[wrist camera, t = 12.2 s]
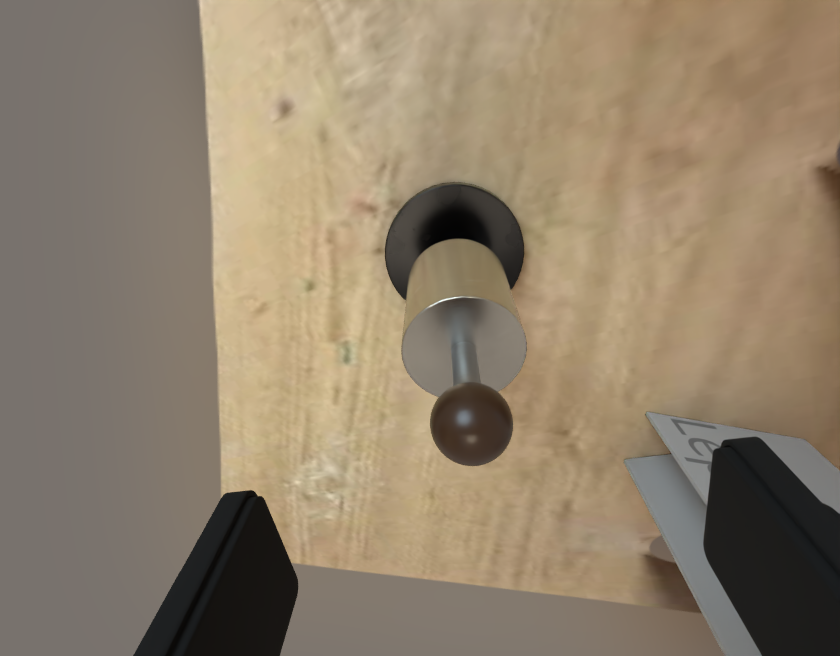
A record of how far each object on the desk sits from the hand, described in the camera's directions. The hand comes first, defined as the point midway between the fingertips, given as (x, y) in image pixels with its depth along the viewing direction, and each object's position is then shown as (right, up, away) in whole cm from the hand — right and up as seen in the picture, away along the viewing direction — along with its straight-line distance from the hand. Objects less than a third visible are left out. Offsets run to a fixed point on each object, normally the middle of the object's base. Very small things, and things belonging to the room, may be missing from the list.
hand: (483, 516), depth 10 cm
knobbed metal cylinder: (+1, +1, +16) cm, 16 cm away
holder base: (+1, +10, +25) cm, 27 cm away
